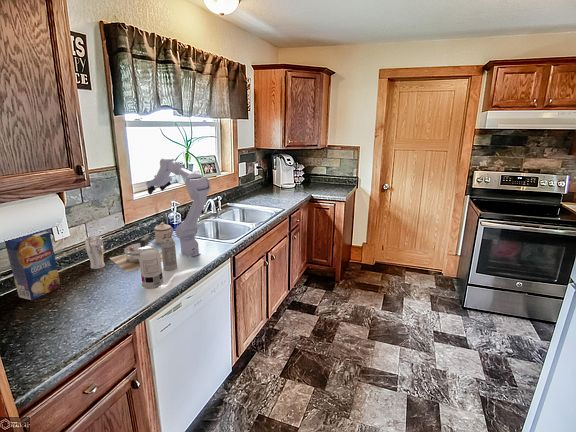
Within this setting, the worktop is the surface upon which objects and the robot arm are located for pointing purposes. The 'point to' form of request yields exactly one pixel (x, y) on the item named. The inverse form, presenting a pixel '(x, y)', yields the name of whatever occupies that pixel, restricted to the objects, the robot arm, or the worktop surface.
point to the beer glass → (95, 251)
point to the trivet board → (124, 264)
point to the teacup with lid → (163, 232)
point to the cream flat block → (132, 259)
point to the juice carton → (33, 264)
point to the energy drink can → (169, 254)
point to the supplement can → (150, 268)
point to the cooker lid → (139, 246)
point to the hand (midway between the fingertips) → (155, 191)
